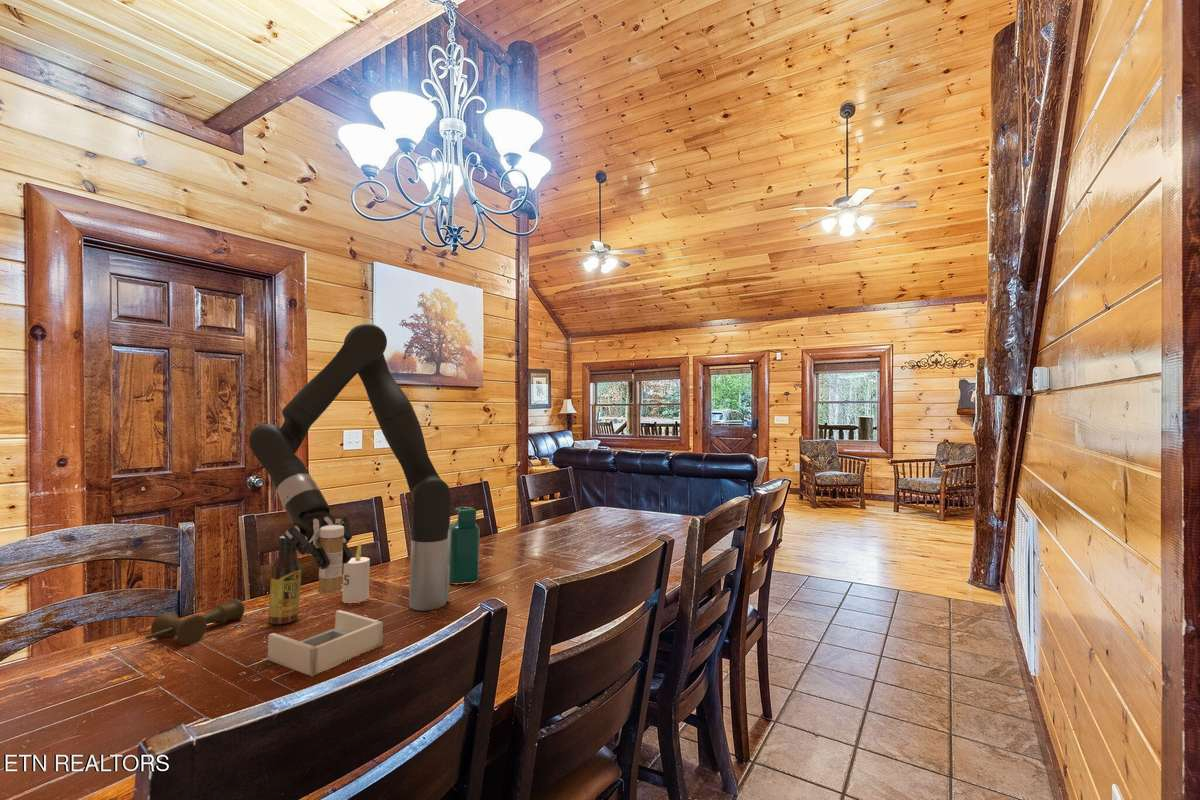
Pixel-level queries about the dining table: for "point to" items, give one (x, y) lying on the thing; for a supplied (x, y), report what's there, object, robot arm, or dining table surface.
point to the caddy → (327, 644)
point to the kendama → (194, 623)
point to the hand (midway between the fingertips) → (337, 563)
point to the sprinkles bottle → (331, 559)
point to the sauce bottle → (285, 585)
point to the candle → (356, 578)
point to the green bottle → (463, 547)
